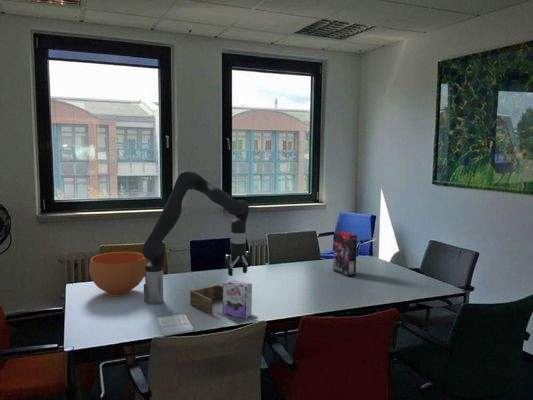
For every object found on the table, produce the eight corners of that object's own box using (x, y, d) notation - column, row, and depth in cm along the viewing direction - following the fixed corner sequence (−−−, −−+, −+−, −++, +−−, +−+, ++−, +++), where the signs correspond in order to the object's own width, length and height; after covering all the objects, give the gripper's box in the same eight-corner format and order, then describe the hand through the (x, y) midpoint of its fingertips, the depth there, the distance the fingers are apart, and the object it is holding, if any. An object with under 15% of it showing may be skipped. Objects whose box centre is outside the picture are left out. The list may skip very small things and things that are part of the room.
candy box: (222, 314, 221) (222, 281, 219) (228, 310, 226) (229, 278, 224) (245, 319, 214) (245, 286, 212) (252, 315, 219) (252, 283, 217)
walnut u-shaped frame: (210, 313, 221) (210, 300, 221) (190, 303, 236) (190, 290, 235) (239, 306, 233) (239, 293, 232) (218, 296, 247) (218, 284, 247)
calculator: (185, 317, 218) (184, 313, 218) (194, 332, 199) (194, 328, 199) (157, 320, 213) (157, 316, 213) (164, 336, 194) (163, 332, 194)
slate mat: (238, 323, 209) (238, 322, 209) (217, 313, 222) (217, 312, 222) (257, 317, 217) (257, 316, 217) (236, 308, 230) (236, 307, 230)
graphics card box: (332, 271, 306) (333, 231, 303) (340, 269, 309) (341, 231, 306) (348, 277, 291) (349, 236, 288) (356, 276, 294) (358, 235, 291)
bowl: (156, 288, 262) (156, 253, 259) (127, 304, 233) (126, 266, 231) (111, 283, 270) (111, 250, 267) (78, 298, 241) (77, 261, 239)
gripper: (231, 244, 208) (230, 278, 210) (254, 241, 218) (253, 273, 219) (221, 241, 214) (221, 274, 216) (245, 238, 223) (244, 270, 225)
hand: (237, 274), depth 217 cm, fingers open, 8 cm apart
